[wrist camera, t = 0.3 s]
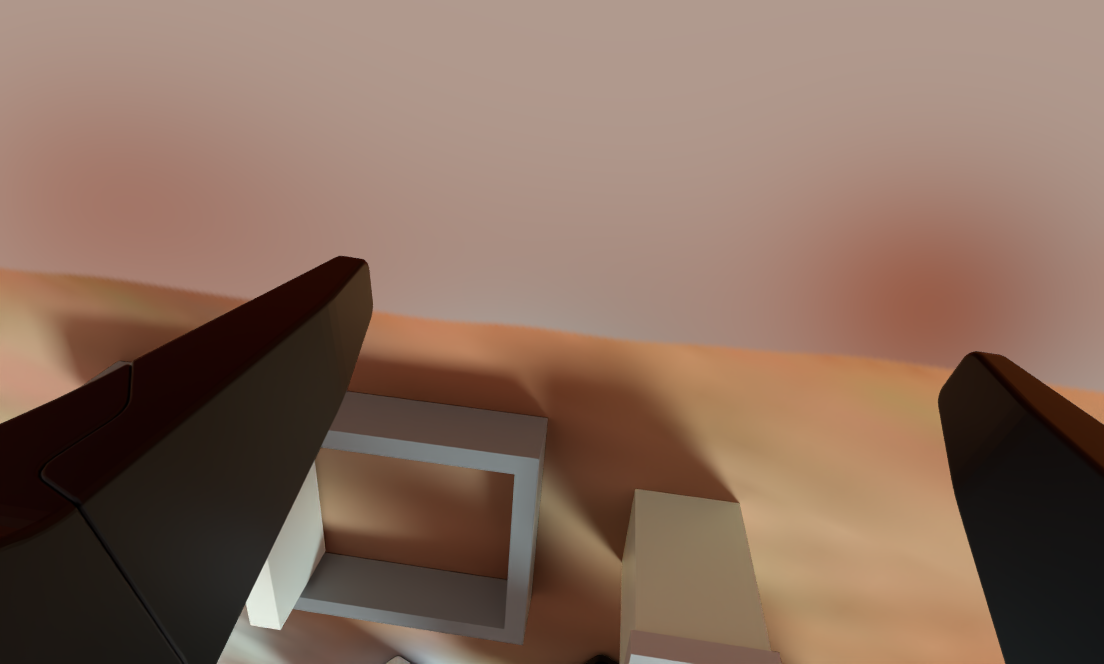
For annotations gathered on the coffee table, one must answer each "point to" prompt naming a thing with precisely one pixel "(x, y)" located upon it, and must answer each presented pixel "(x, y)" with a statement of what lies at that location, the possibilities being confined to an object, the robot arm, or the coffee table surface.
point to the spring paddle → (289, 560)
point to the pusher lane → (426, 591)
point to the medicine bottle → (398, 661)
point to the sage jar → (689, 585)
